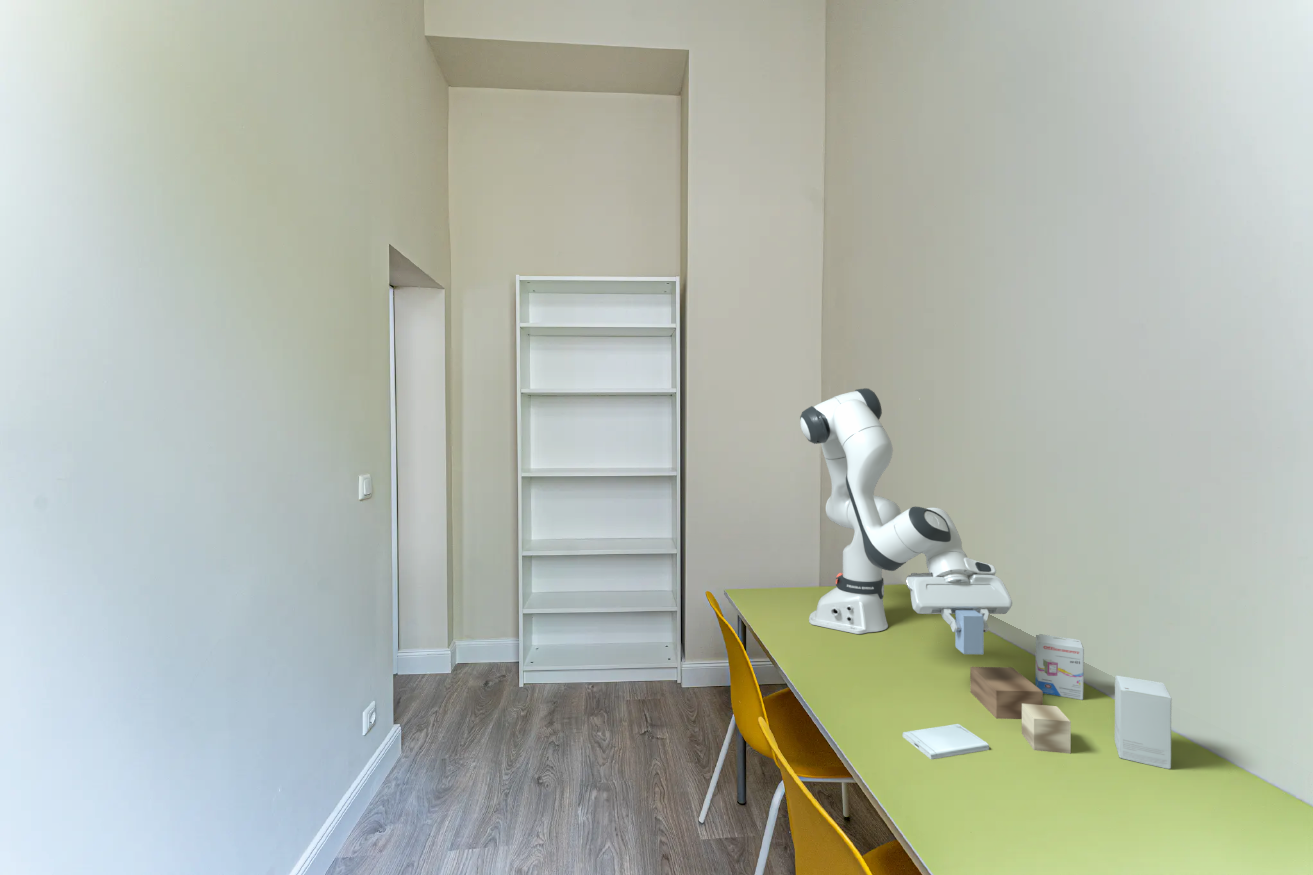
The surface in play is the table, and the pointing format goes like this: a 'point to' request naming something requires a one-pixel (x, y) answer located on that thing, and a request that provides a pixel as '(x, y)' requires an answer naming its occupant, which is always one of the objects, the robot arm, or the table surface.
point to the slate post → (969, 632)
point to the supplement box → (1143, 721)
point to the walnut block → (1003, 691)
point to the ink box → (1059, 666)
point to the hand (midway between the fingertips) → (970, 631)
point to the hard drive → (945, 741)
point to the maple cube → (1046, 728)
